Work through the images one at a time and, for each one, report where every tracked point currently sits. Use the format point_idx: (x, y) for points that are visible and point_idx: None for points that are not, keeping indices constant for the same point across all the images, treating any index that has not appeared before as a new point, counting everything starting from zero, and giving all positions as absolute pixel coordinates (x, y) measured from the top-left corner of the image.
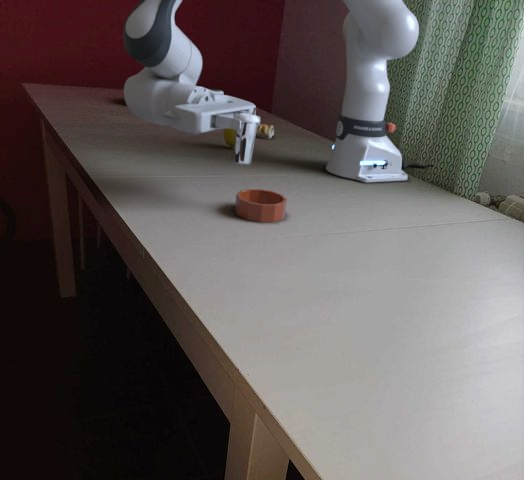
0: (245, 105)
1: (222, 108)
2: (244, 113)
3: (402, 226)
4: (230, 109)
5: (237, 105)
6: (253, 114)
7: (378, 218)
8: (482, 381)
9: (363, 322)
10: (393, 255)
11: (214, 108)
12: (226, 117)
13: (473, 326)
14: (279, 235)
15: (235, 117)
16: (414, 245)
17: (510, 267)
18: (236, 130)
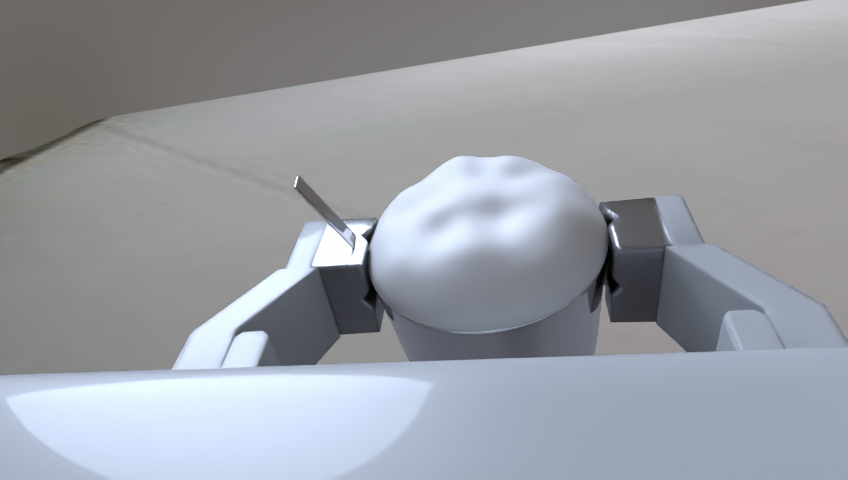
0: (27, 391)
1: (631, 385)
2: (470, 225)
3: (283, 198)
4: (475, 359)
5: (133, 430)
6: (346, 227)
7: (252, 242)
8: (800, 17)
9: (840, 93)
10: (497, 154)
11: (812, 441)
12: (764, 275)
13: (668, 47)
14: (641, 337)
15: (580, 283)
16: (400, 154)
17: (390, 75)
18: (592, 344)
